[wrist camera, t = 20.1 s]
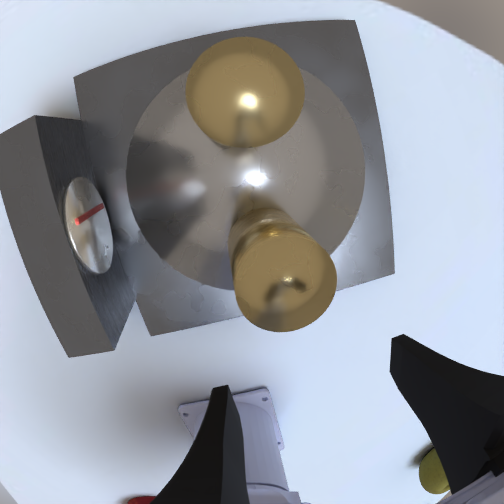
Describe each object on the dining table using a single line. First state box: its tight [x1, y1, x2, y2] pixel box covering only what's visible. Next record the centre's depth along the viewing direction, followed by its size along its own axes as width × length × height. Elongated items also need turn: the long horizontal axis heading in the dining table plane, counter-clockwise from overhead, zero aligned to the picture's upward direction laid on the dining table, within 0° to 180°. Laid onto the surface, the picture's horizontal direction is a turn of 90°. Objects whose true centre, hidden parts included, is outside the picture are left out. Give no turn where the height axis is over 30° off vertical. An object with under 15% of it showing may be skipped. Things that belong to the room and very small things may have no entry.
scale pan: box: [126, 67, 365, 291], centre depth 18 cm, size 14×14×1 cm
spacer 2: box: [228, 208, 337, 332], centre depth 16 cm, size 4×4×6 cm
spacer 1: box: [185, 37, 305, 148], centre depth 14 cm, size 4×4×6 cm
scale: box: [0, 20, 395, 358], centre depth 16 cm, size 18×21×7 cm
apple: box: [419, 448, 450, 494], centre depth 32 cm, size 8×8×7 cm
